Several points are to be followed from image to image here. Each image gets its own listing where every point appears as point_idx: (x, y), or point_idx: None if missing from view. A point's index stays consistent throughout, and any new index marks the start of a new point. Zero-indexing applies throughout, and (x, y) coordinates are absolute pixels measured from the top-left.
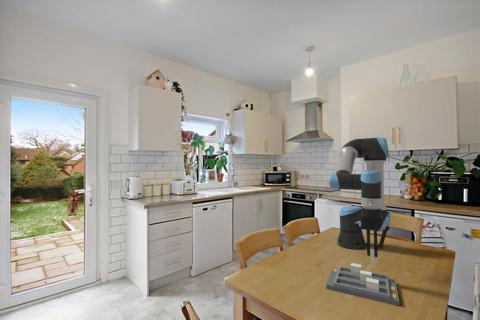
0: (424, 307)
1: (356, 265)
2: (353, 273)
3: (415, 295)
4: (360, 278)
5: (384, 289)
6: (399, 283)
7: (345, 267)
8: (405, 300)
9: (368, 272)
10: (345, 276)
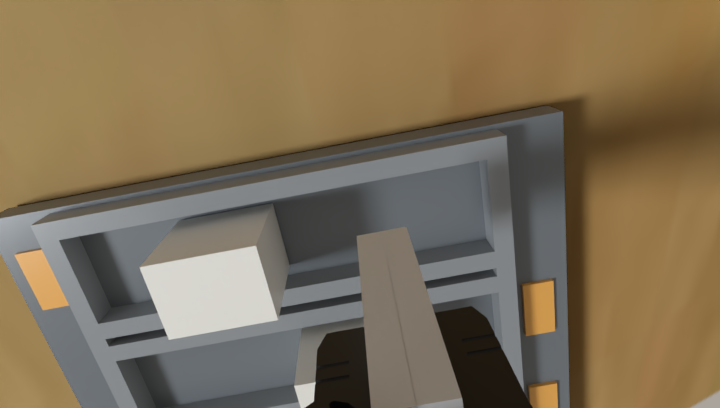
0: (691, 342)
1: (218, 301)
2: None
3: (671, 218)
4: None
5: None
6: (580, 68)
7: (97, 216)
8: (596, 329)
9: None
10: None
